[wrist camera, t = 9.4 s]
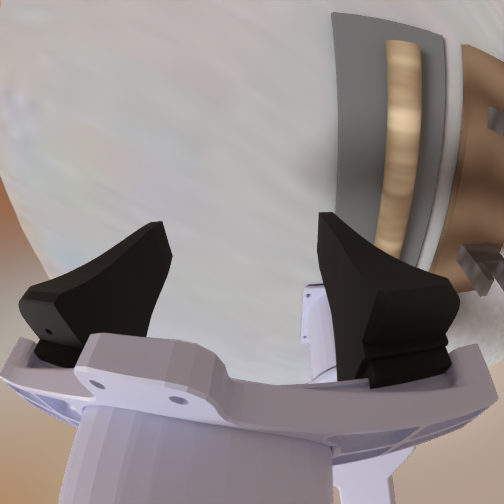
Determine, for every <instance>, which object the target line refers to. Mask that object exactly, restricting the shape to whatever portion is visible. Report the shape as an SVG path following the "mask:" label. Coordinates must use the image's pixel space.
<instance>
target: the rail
mask: <svg viewBox="0 0 504 504" xmlns="http://www.w3.org/2000/svg"><path fill="white" fill-rule="evenodd" d="M385 47H386V61H387V91H388V108H387V138H386V154H385V166H384V177H383V186H382V195H381V202H380V210H379V216H378V223H377V229H376V235H375V241H374V246H376V247H378V248H379V249H381V250H382V251H384V252H386V253H387V254H389V255H391V256H393V257H395V258H397V259H399V257H400V253H401V249H402V245H403V241H404V236H405V232H406V227H407V223H408V218H409V213H410V208H411V202H412V197H413V191H414V184H415V178H416V170H417V162H418V154H419V143H420V131H421V113H422V67H421V49H420V46H419V45H417V44H414V43H411V42H406V41H399V40H387V41H385Z"/></svg>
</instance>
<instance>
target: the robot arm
mask: <svg viewBox="0 0 504 504" xmlns="http://www.w3.org/2000/svg"><path fill="white" fill-rule="evenodd" d="M317 254H318V261H319V268H320V272H321V276H322V280H323V283H324V285H320V286H307V287H305V288H304V292H303V311H302V326H301V343H302V344H309V352H310V365H311V378H312V382H309V383H306V384H296V385H270V384H263V383H257V382H251V381H245V380H239V379H234V378H230V377H229V376H228V373H227V370H226V367H225V365H224V364H223V362H222V361H221V360H220V359H219V358H218V357H217V355H216V354H215V353H214V352H212V351H210V350H208V349H206V348H204V347H202V346H200V345H198V344H196V343H191V342H186V341H181V340H174V339H160V338H148V337H146V336H147V331H148V327H149V323H150V319H151V315H152V313H153V310H154V307H155V305H156V302H157V300H158V297H159V295H160V292H161V290H162V287H163V285H164V283H165V280H166V278H167V275H168V272H169V269H170V265H171V261H172V257H173V256H172V253H171V249H170V246H169V243H168V239H167V236H166V233H165V229H164V226H163V222H162V221H159V222H150V223H148V224H146V225H145V226H143V227H141V228H140V229H138V230H137V231H135V232H134V233H133V234H131V235H130V236H128V237H127V238H125V239H124V240H123V241H121V242H120V243H118V244H117V245H115V246H114V247H112V248H111V249H109V250H108V251H107V252H105V253H103V254H102V255H100V256H99V257H97V258H95V259H94V260H92V261H90V262H88V263H87V264H85V265H83V266H81V267H79V268H77V269H75V270H73V271H71V272H69V273H66V274H64V275H62V276H59V277H57V278H54V279H51V280H49V281H46V282H43V283H39V284H36V285H33V286H31V287H29V289H28V290H27V291H26V292H25V294H24V295H23V297H22V298H21V299H20V301H19V309H20V312H21V314H22V316H23V318H24V319H25V321H26V322H27V323H28V325H29V326H30V327H31V329H32V330H33V331H34V332H35V334H36V335H37V336H38V337H39V339H40V340H39V342H38V344H36V343H35V342H34V341H32V340H29V339H26V338H22V337H20V338H19V340H18V341H17V343H16V345H15V347H14V348H13V350H12V352H11V354H10V356H9V358H8V359H7V361H6V363H5V365H4V367H3V369H2V371H1V373H0V378H1V379H2V380H3V381H4V382H5V383H6V384H7V385H9V386H10V387H11V388H12V389H13V390H14V391H15V392H17V393H18V394H19V395H20V396H21V397H22V398H24V399H25V400H26V401H27V402H29V403H30V404H31V405H33V406H34V407H36V408H38V409H40V410H42V411H44V412H46V413H48V414H49V415H51V416H53V417H55V418H57V419H59V420H61V421H63V422H65V423H67V424H69V425H71V426H73V427H75V428H77V433H76V435H75V439H74V442H73V445H72V449H71V452H70V456H69V459H68V463H67V467H66V470H65V475H64V479H63V483H62V487H61V491H60V496H59V501H58V504H333V486H335V487H337V488H338V489H339V493H340V499H341V504H395V495H394V486H393V479H392V474H393V473H394V472H395V471H396V470H397V468H399V467H400V466H401V465H402V463H403V462H404V461H405V460H406V459H407V458H408V457H409V456H410V455H411V454H412V453H413V451H414V450H415V448H416V446H415V445H418V444H421V443H423V442H427V441H429V440H432V439H435V438H437V437H440V436H443V435H445V434H448V433H450V432H453V431H455V430H458V429H460V428H462V427H464V426H465V425H467V424H468V423H470V422H471V421H472V420H473V419H475V418H476V417H477V416H479V415H480V414H481V413H483V412H484V411H485V410H487V409H488V408H489V407H490V406H491V405H493V404H494V403H495V402H496V401H497V400H498V395H497V392H496V389H495V386H494V383H493V381H492V378H491V375H490V373H489V370H488V368H487V365H486V363H485V360H484V358H483V355H482V353H481V351H480V349H479V346H478V344H472V345H468V346H465V347H461V348H457V349H455V350H453V351H451V352H450V353H449V354H448V352H447V349H446V347H445V346H447V345H448V339H447V337H446V332H447V331H448V329H449V327H450V326H451V324H452V322H453V320H454V319H455V317H456V315H457V312H458V310H459V306H460V299H459V296H458V294H457V292H456V291H455V289H454V287H453V286H452V284H451V282H450V281H449V279H448V278H446V277H443V276H440V275H436V274H433V273H430V272H427V271H424V270H422V269H419V268H416V267H414V266H412V265H409V264H407V263H405V262H403V261H401V260H399V259H397V258H395V257H393V256H391V255H389V254H387V253H386V252H384V251H382V250H381V249H379V248H378V247H376V246H374V245H373V244H371V243H370V242H369V241H367V240H366V239H365V238H363V237H362V236H361V235H359V234H358V233H357V232H356V231H354V230H353V229H352V228H351V227H349V226H348V225H347V224H346V223H345V222H344V221H342V220H341V219H340V218H339V217H338V216H337V215H335V214H334V213H333V212H319V222H318V243H317ZM307 294H310V295H307Z"/></svg>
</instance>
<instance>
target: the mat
mask: <svg viewBox="0 0 504 504" xmlns="http://www.w3.org/2000/svg"><path fill="white" fill-rule="evenodd" d="M331 17H332V26H333V35H334V46H335V59H336V74H337V97H338V171H337V194H336V211H335V215H337V216H338V217H339V218H340V219H341V220H342V221H344V222H345V223H346V224H347V225H348V226H349V227H351V228H352V229H353V230H354V231H356V232H357V233H358V234H359V235H361V236H362V237H363V238H365V239H366V240H367V241H369V242H370V243H371V244H373V245H374V241H375V235H376V229H377V223H378V216H379V210H380V202H381V195H382V186H383V177H384V166H385V154H386V138H387V108H388V91H387V61H386V47H385V41H387V40H399V41H406V42H411V43H414V44H417V45H419V46H420V49H421V67H422V113H421V131H420V143H419V154H418V162H417V170H416V178H415V184H414V191H413V197H412V202H411V208H410V213H409V218H408V223H407V227H406V232H405V236H404V241H403V245H402V249H401V253H400V257H399V260H401V261H403V262H405V263H407V264H409V265H412V266H414V267H416V264H417V261H418V258H419V254H420V251H421V247H422V244H423V240H424V237H425V233H426V229H427V225H428V221H429V217H430V213H431V208H432V203H433V199H434V194H435V188H436V183H437V177H438V171H439V164H440V157H441V149H442V140H443V129H444V115H445V57H444V44H443V36H442V35H439V34H436V33H433V32H430V31H427V30H423V29H420V28H417V27H413V26H409V25H405V24H401V23H397V22H393V21H388V20H384V19H379V18H373V17H367V16H361V15H354V14H346V13H336V12H333V13H332V14H331Z"/></svg>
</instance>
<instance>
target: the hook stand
mask: <svg viewBox="0 0 504 504" xmlns="http://www.w3.org/2000/svg"><path fill="white" fill-rule="evenodd" d="M461 46H462V60H463V111H462V126H461V136H460V145H459V153H458V160H457V166H456V172H455V178H454V183H453V188H452V193H451V198H450V202H449V206H448V211H447V215H446V218H445V222H444V226H443V230H442V233H441V236H440V240H439V243H438V246H437V250H436V253H435V256H434V259H433V262H432V265H431V267H430V270H429V272H430V273H433V274H436V275H440V276H443V277H446V278H448V279H449V281H450V282H451V284H452V286H453V287H454V289H455V291H456V292H457V293H459V292H466V291H472V290H476V291H477V293H478V294H479V296H486V295H487V293H488V291H489V289H490V287H491V285H492V283H493V281H494V277H495V279H496V280H497V282H498V283H499V285H500V286H501V288H502V289H503V291H504V258H503V257H502V255H501V254H500V253H499V252H500V250H501V247H502V245H503V242H504V62H502V61H501V60H499V59H497V58H495V57H493V56H491V55H489V54H487V53H485V52H483V51H481V50H479V49H477V48H475V47H472V46H470V45H461ZM493 276H494V277H493Z"/></svg>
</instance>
